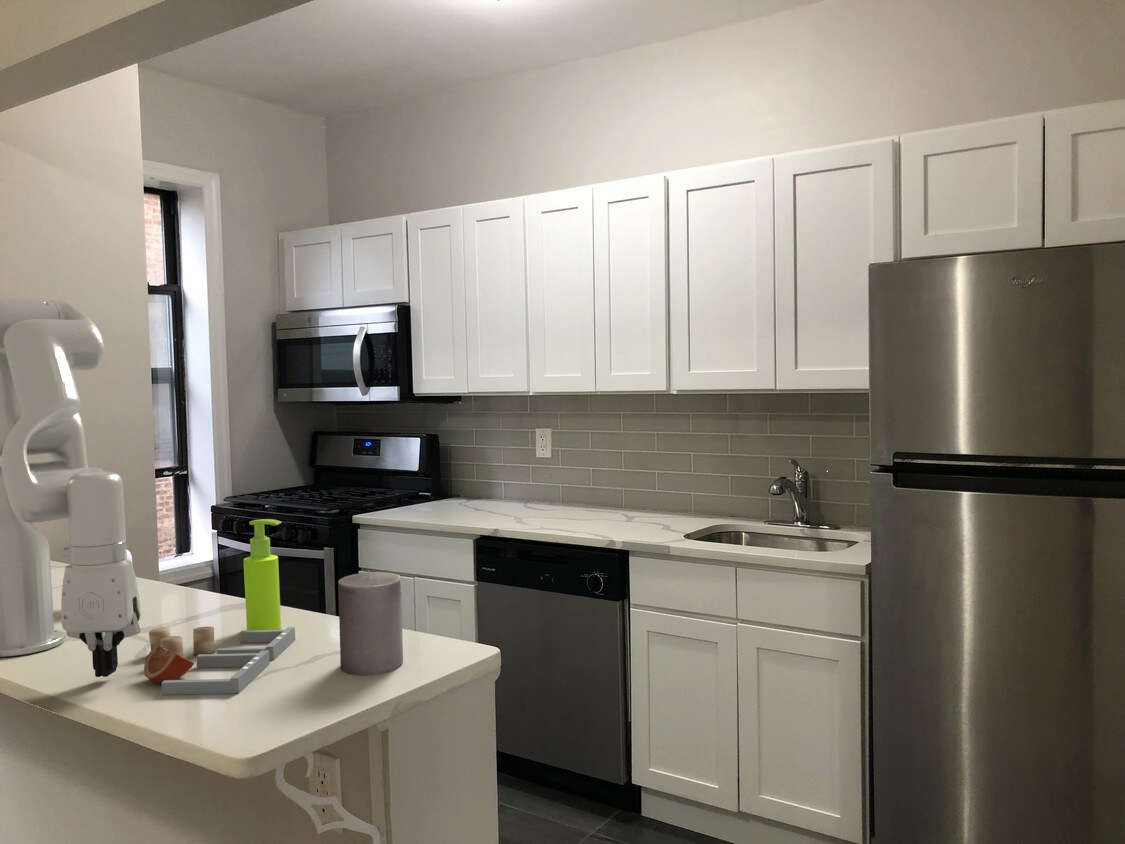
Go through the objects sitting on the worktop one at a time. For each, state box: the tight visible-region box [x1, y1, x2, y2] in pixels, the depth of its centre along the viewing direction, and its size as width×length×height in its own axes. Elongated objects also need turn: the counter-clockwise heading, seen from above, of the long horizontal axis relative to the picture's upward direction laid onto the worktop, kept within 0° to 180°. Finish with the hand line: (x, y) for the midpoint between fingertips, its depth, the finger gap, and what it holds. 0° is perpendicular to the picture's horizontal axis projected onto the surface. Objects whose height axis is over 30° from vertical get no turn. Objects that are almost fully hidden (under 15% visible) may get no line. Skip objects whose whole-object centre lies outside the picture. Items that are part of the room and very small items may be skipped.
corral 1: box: [161, 650, 271, 696], centre depth 137 cm, size 11×13×2 cm
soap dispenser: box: [243, 518, 283, 631], centre depth 163 cm, size 6×7×20 cm
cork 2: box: [161, 635, 184, 657], centre depth 146 cm, size 3×3×4 cm
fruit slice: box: [143, 644, 195, 684], centre depth 138 cm, size 8×7×5 cm
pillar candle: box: [337, 570, 404, 676], centre depth 142 cm, size 10×10×15 cm
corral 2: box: [216, 626, 296, 661], centre depth 151 cm, size 9×11×2 cm
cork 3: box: [192, 626, 215, 656], centre depth 151 cm, size 3×3×4 cm
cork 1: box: [148, 626, 171, 651], centre depth 150 cm, size 3×3×4 cm
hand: (106, 673), depth 138 cm, fingers closed
